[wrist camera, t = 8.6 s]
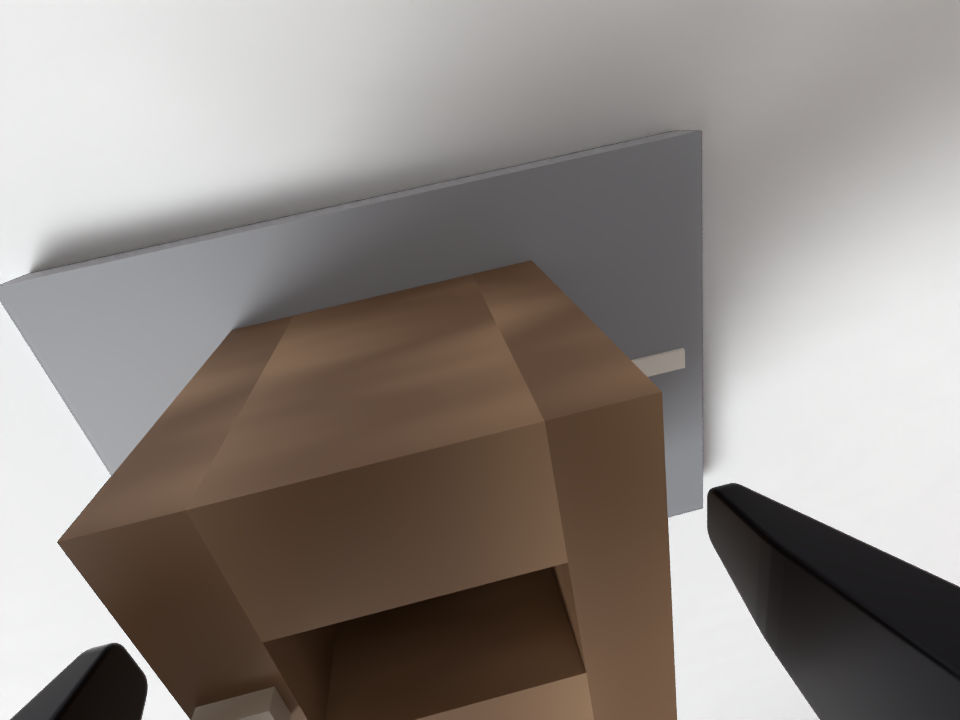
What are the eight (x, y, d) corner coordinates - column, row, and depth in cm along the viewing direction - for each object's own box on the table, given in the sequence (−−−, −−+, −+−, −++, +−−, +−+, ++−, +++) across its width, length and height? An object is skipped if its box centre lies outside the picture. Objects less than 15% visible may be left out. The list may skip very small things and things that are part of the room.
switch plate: (677, 130, 11) (898, 133, 6) (685, 486, 15) (819, 654, 11) (26, 274, 11) (-306, 405, 6) (224, 604, 15) (135, 843, 10)
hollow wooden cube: (531, 260, 11) (675, 405, 5) (567, 492, 14) (687, 753, 8) (231, 329, 11) (38, 564, 5) (330, 553, 13) (279, 868, 8)
